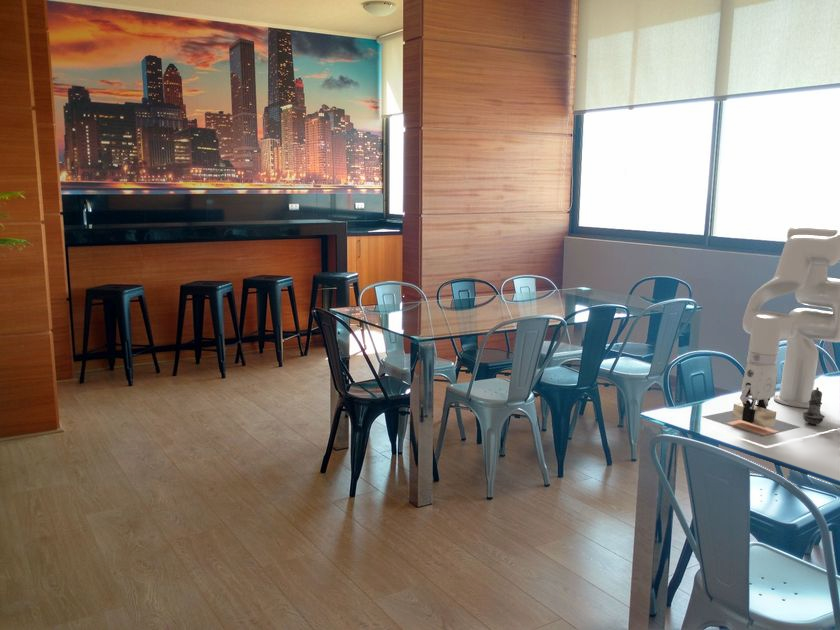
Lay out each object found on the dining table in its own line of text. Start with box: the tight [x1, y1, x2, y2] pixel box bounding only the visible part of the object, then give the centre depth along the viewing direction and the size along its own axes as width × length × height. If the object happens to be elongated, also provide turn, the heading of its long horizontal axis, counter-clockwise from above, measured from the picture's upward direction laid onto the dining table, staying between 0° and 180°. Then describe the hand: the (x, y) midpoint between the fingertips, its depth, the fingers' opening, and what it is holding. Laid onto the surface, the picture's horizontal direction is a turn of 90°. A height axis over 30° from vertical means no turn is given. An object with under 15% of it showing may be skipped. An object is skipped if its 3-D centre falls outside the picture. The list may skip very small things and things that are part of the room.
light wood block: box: [732, 402, 777, 428], centre depth 207 cm, size 10×5×4 cm, turn 33°
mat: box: [702, 410, 801, 437], centre depth 213 cm, size 20×19×1 cm
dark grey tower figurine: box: [802, 386, 825, 427], centre depth 213 cm, size 6×6×12 cm
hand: (753, 419), depth 208 cm, fingers closed on light wood block, 5 cm apart
